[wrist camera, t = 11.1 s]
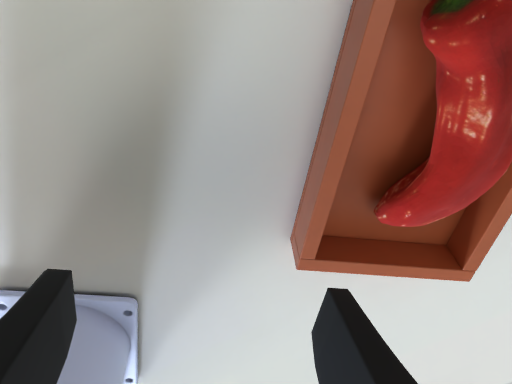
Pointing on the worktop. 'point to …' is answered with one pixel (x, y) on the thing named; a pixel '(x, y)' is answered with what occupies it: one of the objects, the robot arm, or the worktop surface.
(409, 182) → the vegetable
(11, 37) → the worktop surface
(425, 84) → the tray
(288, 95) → the worktop surface
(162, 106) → the worktop surface
